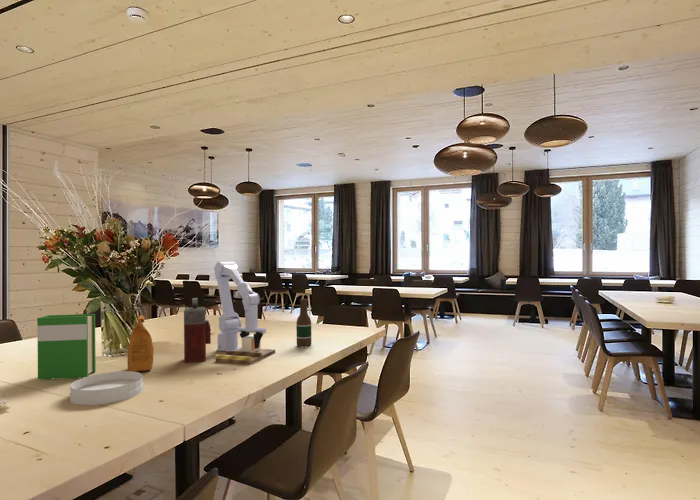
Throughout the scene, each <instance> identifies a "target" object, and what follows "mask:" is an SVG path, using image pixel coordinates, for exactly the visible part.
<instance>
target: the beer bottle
mask: <svg viewBox="0 0 700 500" xmlns="http://www.w3.org/2000/svg"><path fill="white" fill-rule="evenodd" d="M299 302H300V308H299V309H300V310H299V316H298V317H297V320H296V326H295V327H296V329H295V330H296V347H299V348H307V347H311V346H312V319H311V317H310V315H309V312H308V299H307V298H301V299H300V300H299Z"/></svg>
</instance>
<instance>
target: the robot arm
mask: <svg viewBox="0 0 700 500" xmlns="http://www.w3.org/2000/svg"><path fill="white" fill-rule="evenodd" d="M213 269H214V276H215V280H216V282H217V288H218V293H219V297H220V298H219V299H220V304H221V309H222V314H221V315H220V316H219V318H218V328H219V331H220V332H219V333H218V334H217V342H216V343H217V349H216V352H217V351H219V352H220V351H221V352H226V351H227V350H229V351H235V350H238V349H240V348H242V346H239V336H240V338H241V339H242V338H243V337H246V336H249V335H250V333H251V334H252V333H253V335H254V339H255V349H257V348H259V343H260V344H261V340H262V337H263V336H264V334H267V328H262V327H259V326H258V325H259V323H258V321H259V320H258V305H260V303H261V297H260V294H259V293H257V292H255V291H253V289H252V287H251V286H250V285H249V283H248V282H247V281H244V280H243V278H242V276H241V275H240V274H241V273H239V271H238V270H239V266H238V265H237V263H236V261H217V262H216V263H215V265H214V267H213ZM230 279H231V280H232V281H233V282H234V283H235V285H236V286H237V287H236V290H237V292H238V293H239V295H240V297H241V298H242V306H243V309H244V319H245V320H244V322H245V323H244V325H245V326H244V327H242V319H241V318H240V316H239V314H238V313H237V312H235V310H234V306H233V301H232V294H231V287H230V283H229V281H230Z"/></svg>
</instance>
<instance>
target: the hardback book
mask: <svg viewBox="0 0 700 500" xmlns="http://www.w3.org/2000/svg"><path fill="white" fill-rule="evenodd" d="M36 322H37V328H36V330H37V337H36V338H37V380H38V379H52V378H71V379H79V378H78V377H88V376H89V374H92V373H91V372H96V370H97V369H96V360H97V359H96V313H85V314H84V313H81V314H80V313H79V314H50V315H44V316H40V317H37V320H36ZM96 373H97V372H96ZM52 380H53V379H52Z"/></svg>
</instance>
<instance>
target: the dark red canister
mask: <svg viewBox="0 0 700 500" xmlns="http://www.w3.org/2000/svg"><path fill="white" fill-rule="evenodd" d="M198 301H199V300H198V297H193V298H191V302H192V303H191V307H185V309H184V311H183V351H184V352H183V355H184V357H183V358H184V359H183V361H184V362H183V363H184V364H190V363H201V362H202V363H204V362H206V361H207V353H206V352H207V349H206V348H207V345H210V344H211V343H212V341H211V340H212V339H211V331H212V329H211V324H210V322H209V320H208V319H206V307H204V306H199V305H198Z"/></svg>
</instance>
